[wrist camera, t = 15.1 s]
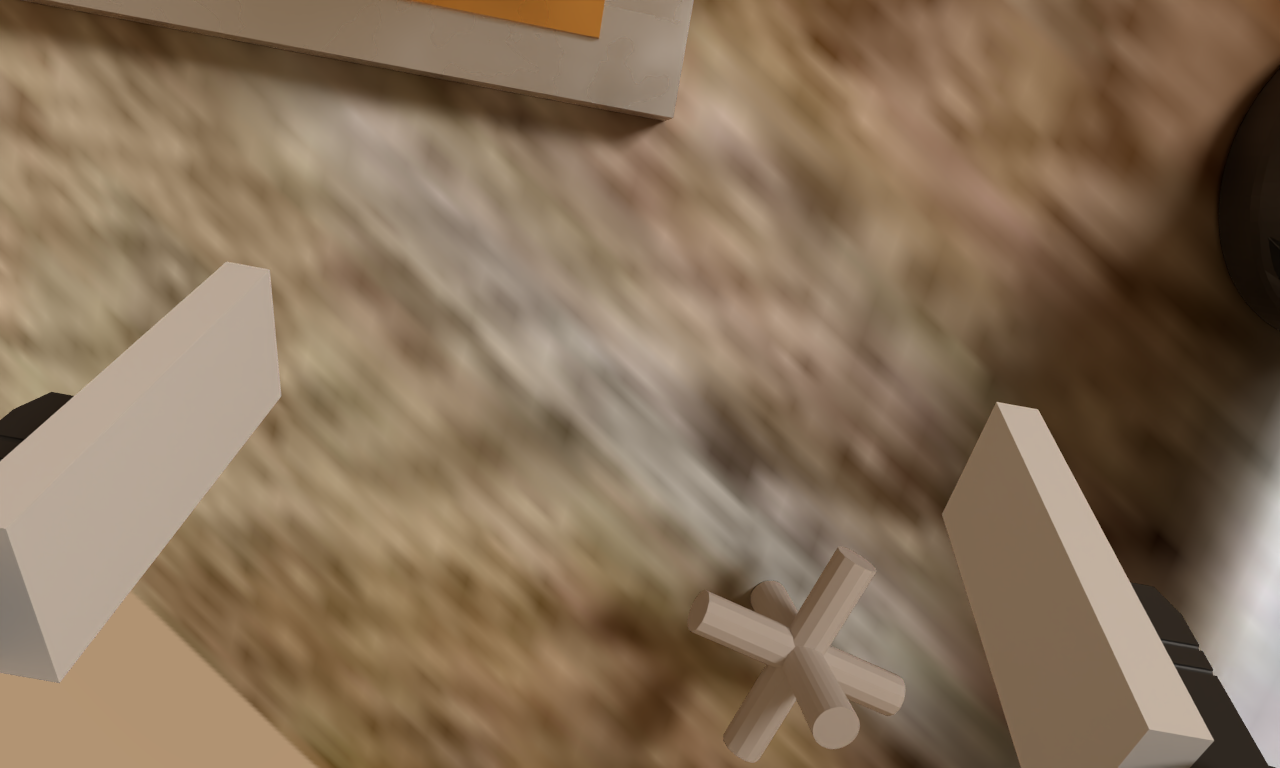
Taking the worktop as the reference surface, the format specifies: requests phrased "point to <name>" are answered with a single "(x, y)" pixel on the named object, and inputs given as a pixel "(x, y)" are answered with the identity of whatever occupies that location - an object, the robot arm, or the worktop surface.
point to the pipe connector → (799, 658)
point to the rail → (461, 40)
